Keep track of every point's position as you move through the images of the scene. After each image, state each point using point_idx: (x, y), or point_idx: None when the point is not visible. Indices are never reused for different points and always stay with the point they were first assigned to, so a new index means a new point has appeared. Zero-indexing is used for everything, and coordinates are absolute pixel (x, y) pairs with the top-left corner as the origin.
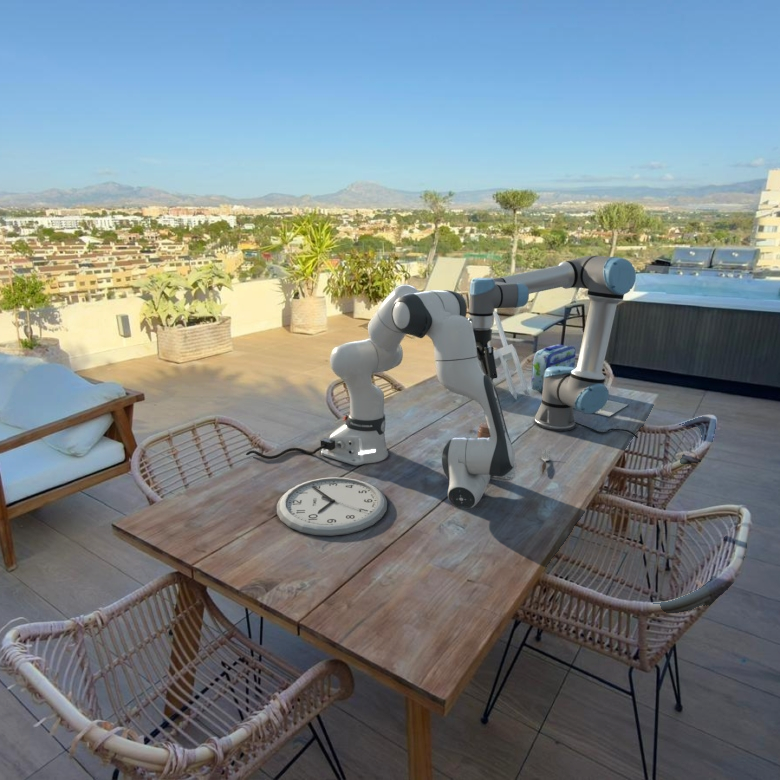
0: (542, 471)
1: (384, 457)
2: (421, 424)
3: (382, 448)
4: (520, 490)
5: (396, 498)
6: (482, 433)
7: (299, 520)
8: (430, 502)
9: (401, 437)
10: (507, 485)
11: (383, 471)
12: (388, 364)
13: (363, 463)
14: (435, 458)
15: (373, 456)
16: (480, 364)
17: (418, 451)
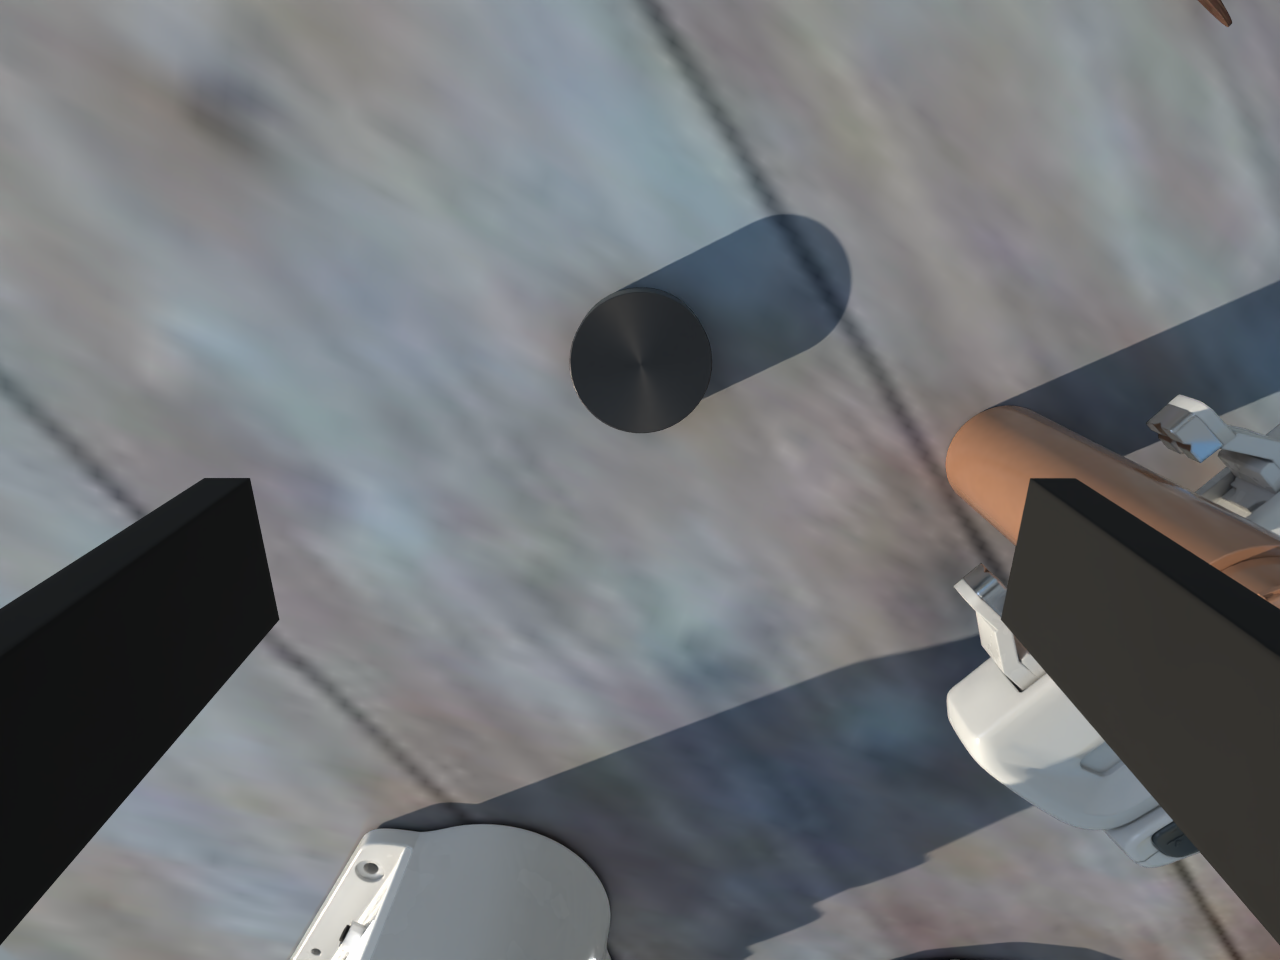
0: (1211, 3)
1: (581, 869)
2: (29, 473)
3: (568, 923)
4: (1276, 333)
5: (989, 920)
6: None
7: None
8: None
9: (277, 685)
10: (1178, 376)
11: (714, 895)
12: None
13: (607, 954)
14: (654, 616)
15: (601, 943)
16: None
17: (524, 668)
